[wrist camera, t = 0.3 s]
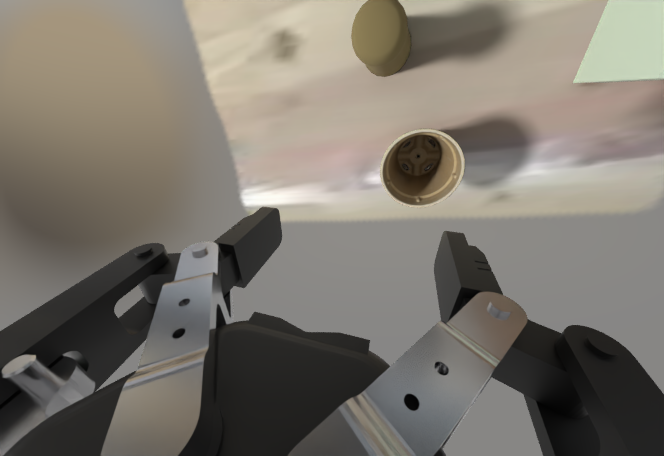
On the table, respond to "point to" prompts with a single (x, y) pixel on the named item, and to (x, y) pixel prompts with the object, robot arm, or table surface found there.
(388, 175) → the flower pot
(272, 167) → the table surface
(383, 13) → the cork
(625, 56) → the door panel
